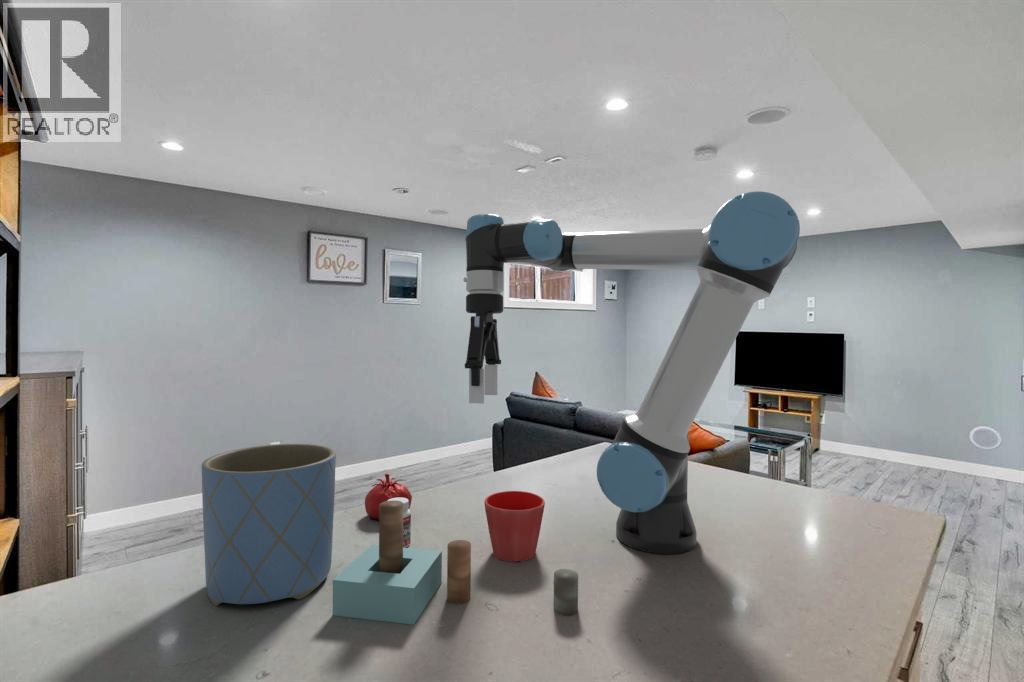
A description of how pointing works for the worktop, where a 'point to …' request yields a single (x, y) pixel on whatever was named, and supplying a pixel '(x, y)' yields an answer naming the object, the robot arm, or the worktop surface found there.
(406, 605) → the collar
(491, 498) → the flower pot
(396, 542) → the pin long
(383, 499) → the pomegranate
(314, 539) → the planter
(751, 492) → the worktop surface
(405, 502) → the pill bottle
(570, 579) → the pin short
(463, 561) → the pin medium
